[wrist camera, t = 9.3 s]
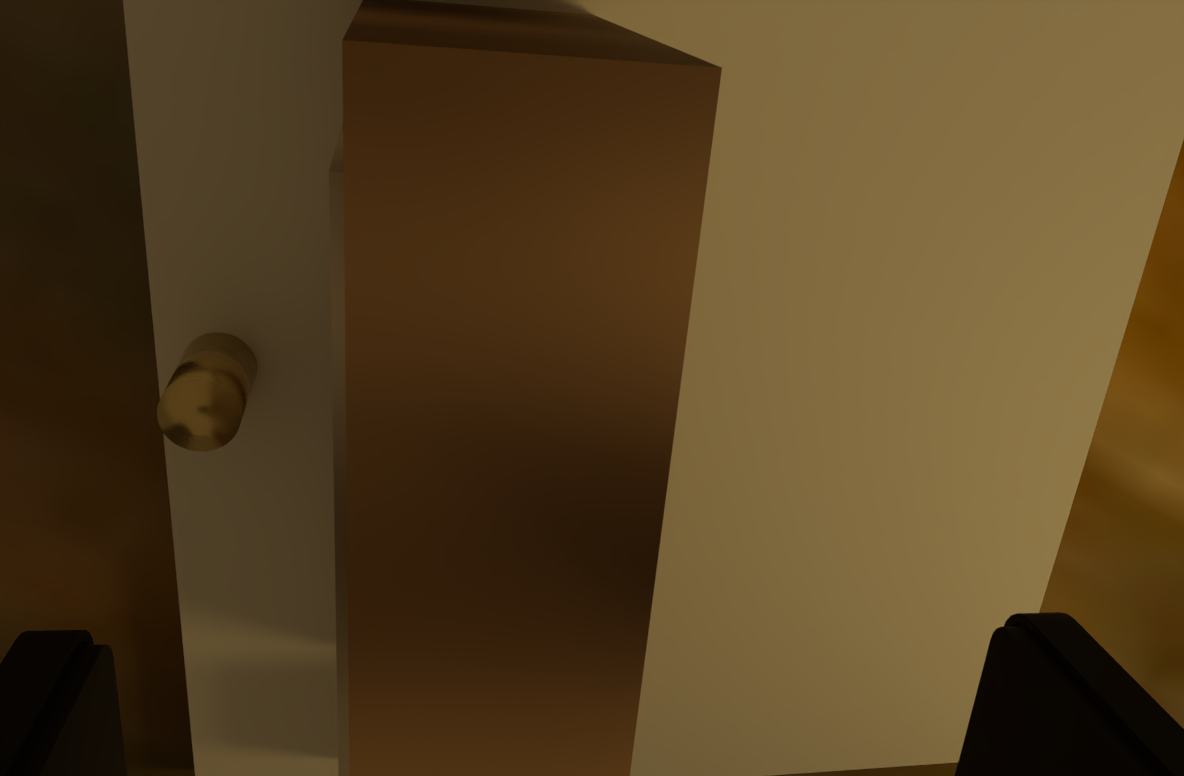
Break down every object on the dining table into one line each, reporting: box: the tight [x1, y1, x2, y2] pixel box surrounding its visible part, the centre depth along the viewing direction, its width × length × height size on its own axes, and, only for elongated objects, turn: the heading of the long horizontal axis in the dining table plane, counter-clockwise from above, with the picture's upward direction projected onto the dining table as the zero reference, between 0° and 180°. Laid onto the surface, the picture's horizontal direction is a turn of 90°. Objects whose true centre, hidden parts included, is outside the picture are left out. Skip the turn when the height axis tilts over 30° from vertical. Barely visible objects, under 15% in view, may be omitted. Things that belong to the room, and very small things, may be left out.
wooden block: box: [329, 0, 722, 776], centre depth 15 cm, size 12×4×7 cm, turn 174°
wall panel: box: [123, 0, 1184, 776], centre depth 19 cm, size 20×18×1 cm
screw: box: [157, 332, 257, 452], centre depth 16 cm, size 1×1×2 cm
